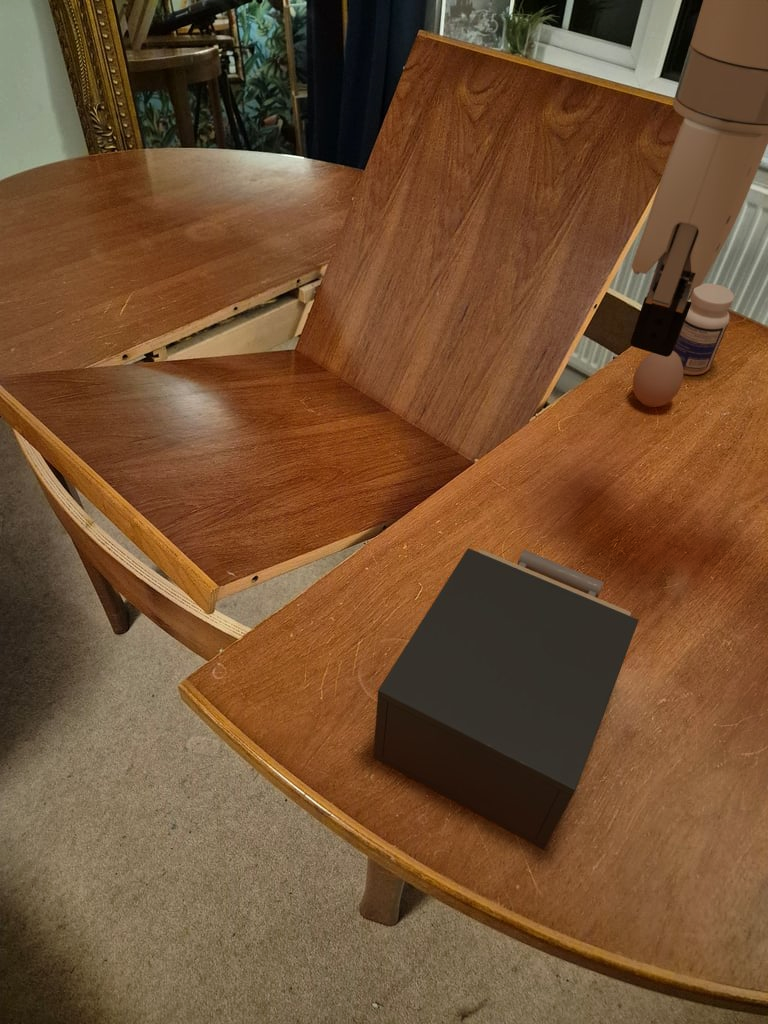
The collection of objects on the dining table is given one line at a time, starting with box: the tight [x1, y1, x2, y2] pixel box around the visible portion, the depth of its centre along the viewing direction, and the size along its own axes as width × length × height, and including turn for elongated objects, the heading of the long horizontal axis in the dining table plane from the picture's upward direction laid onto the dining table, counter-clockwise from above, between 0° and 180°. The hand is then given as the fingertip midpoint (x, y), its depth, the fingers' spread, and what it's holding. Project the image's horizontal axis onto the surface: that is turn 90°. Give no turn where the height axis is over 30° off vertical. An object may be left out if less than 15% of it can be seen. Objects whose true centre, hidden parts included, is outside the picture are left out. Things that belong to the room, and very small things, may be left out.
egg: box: [632, 351, 684, 408], centre depth 86 cm, size 5×5×7 cm
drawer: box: [477, 548, 632, 617], centre depth 57 cm, size 18×12×8 cm
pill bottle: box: [673, 282, 735, 376], centre depth 91 cm, size 6×6×10 cm
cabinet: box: [372, 547, 639, 850], centre depth 55 cm, size 15×14×10 cm
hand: (652, 346), depth 58 cm, fingers closed
